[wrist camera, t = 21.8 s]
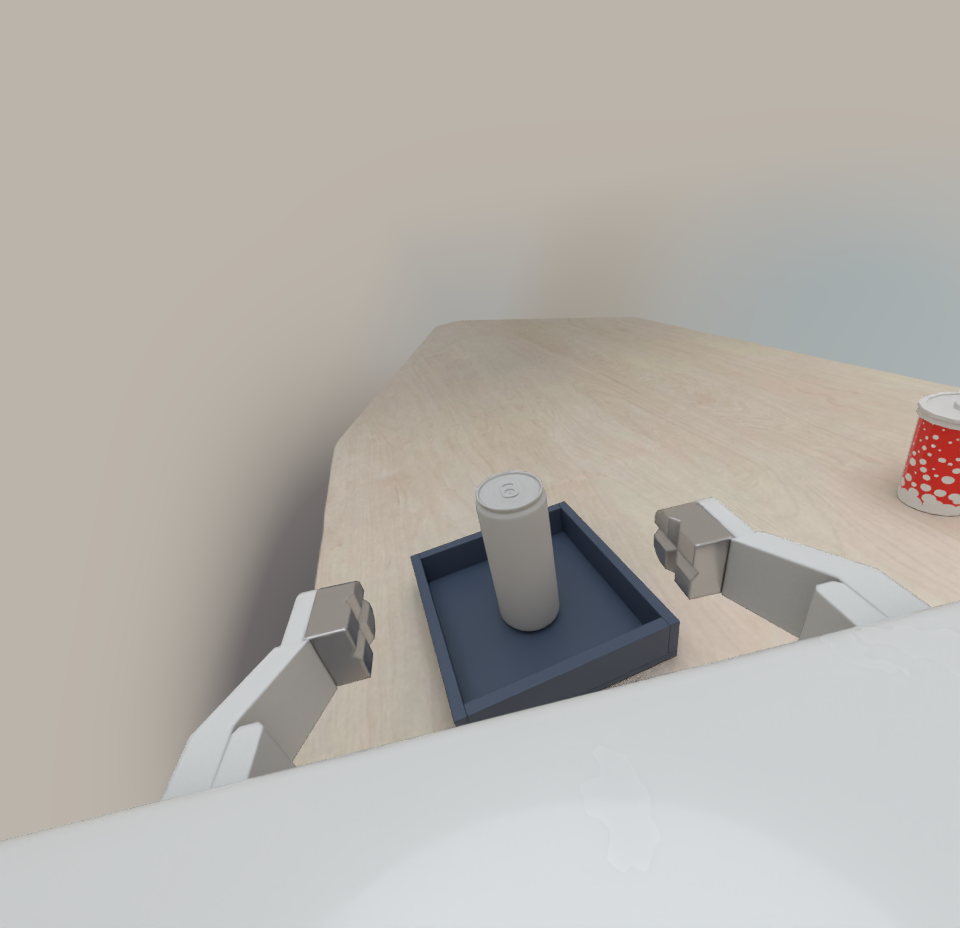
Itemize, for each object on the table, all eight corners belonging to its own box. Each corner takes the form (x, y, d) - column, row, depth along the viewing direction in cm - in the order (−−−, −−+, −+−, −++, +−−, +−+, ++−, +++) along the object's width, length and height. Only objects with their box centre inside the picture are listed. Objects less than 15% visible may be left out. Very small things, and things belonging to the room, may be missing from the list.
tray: (466, 753, 26) (454, 722, 24) (420, 584, 39) (410, 556, 37) (677, 655, 28) (680, 620, 27) (567, 529, 42) (564, 500, 40)
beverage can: (507, 642, 31) (479, 518, 25) (495, 595, 35) (468, 478, 29) (568, 627, 31) (554, 500, 25) (549, 581, 35) (534, 463, 29)
